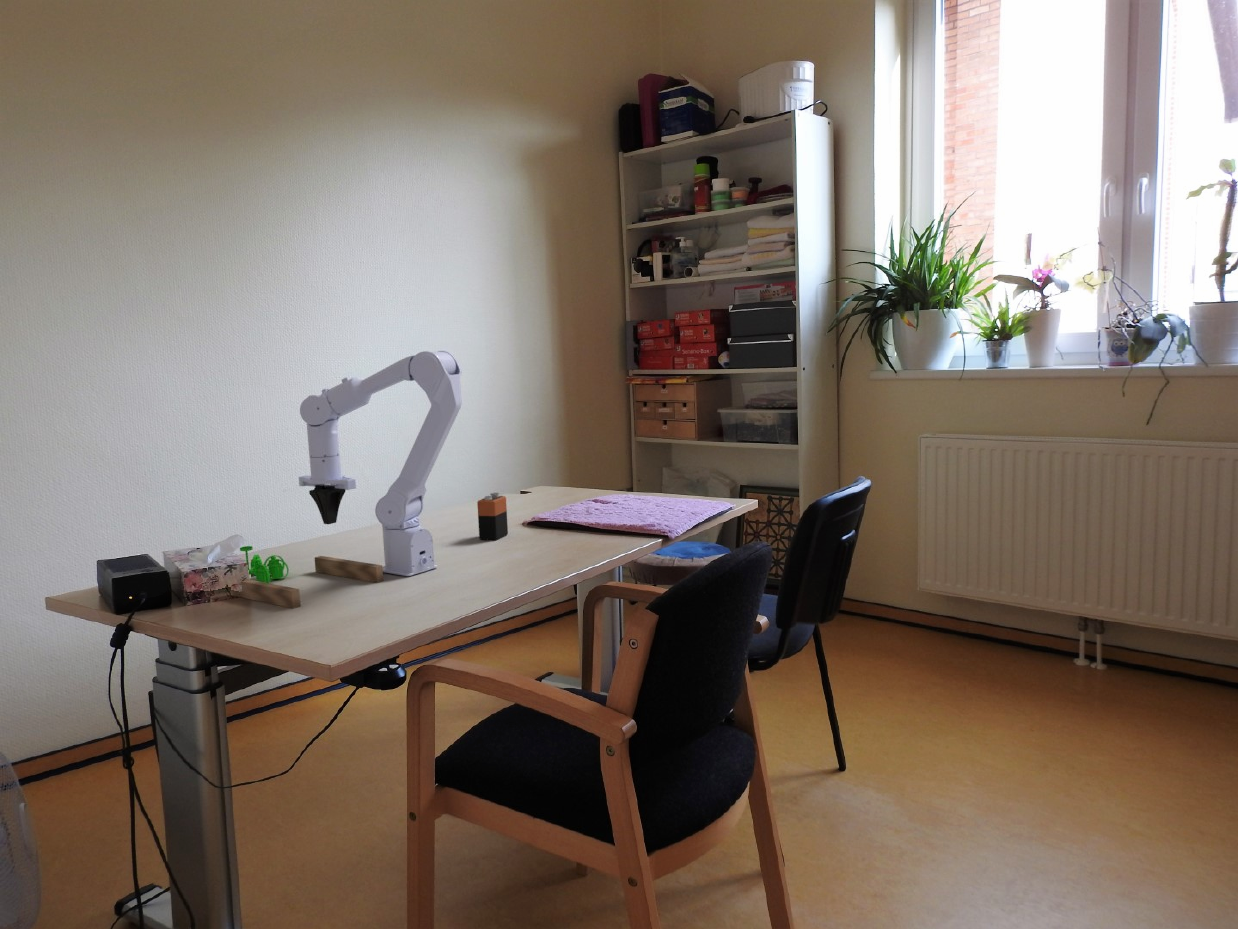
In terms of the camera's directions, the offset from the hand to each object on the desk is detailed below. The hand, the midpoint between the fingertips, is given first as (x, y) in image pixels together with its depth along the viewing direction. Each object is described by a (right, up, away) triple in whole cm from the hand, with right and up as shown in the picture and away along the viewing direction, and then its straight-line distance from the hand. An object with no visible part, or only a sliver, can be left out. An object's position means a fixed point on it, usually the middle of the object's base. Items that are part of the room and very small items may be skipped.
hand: (330, 523), depth 180 cm
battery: (+29, -5, +26) cm, 40 cm away
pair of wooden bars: (0, -11, -13) cm, 17 cm away
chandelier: (-14, -11, -6) cm, 19 cm away
